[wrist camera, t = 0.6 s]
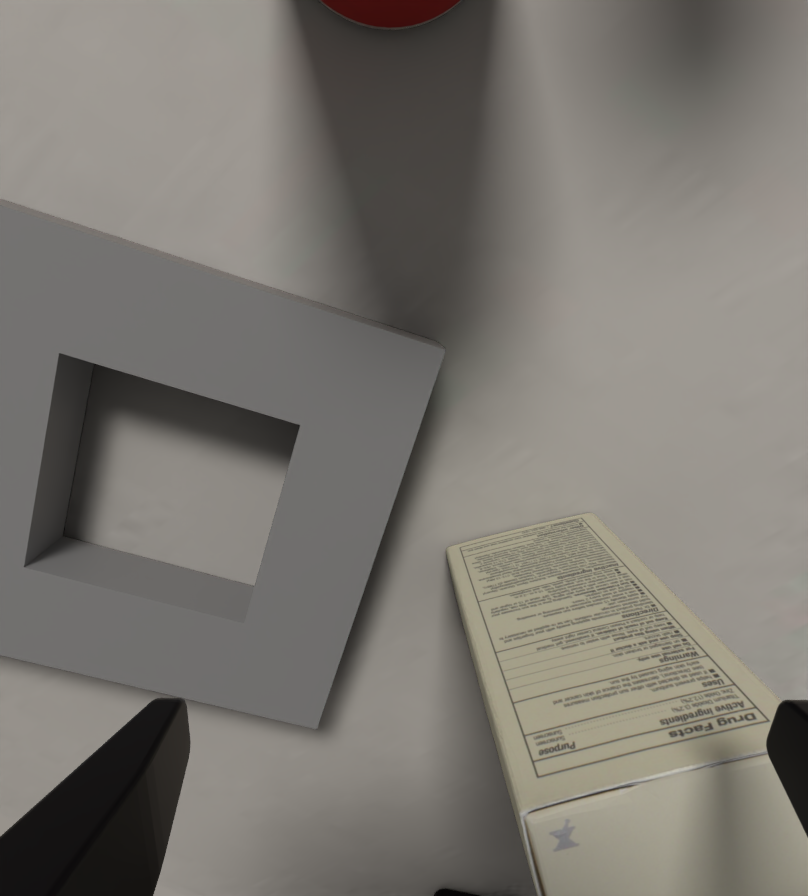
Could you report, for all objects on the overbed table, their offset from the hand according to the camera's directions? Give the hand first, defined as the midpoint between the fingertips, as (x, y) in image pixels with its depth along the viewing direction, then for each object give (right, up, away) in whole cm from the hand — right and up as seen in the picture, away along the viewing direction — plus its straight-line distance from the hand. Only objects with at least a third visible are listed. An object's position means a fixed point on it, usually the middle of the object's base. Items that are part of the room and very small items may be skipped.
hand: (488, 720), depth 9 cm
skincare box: (+4, -1, +15) cm, 15 cm away
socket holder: (-10, +3, +13) cm, 16 cm away
